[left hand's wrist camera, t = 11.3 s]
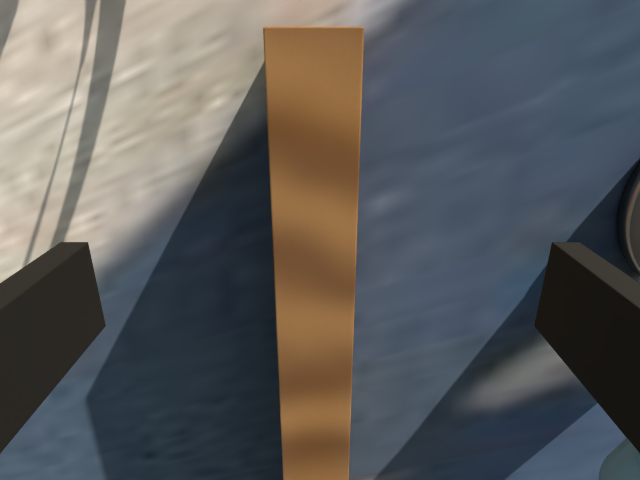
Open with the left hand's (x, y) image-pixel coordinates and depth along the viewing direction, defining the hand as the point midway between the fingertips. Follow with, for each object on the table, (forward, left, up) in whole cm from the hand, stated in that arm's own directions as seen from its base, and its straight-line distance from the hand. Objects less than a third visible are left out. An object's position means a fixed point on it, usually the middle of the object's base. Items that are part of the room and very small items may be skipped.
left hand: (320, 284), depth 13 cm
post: (+9, +27, -21) cm, 36 cm away
